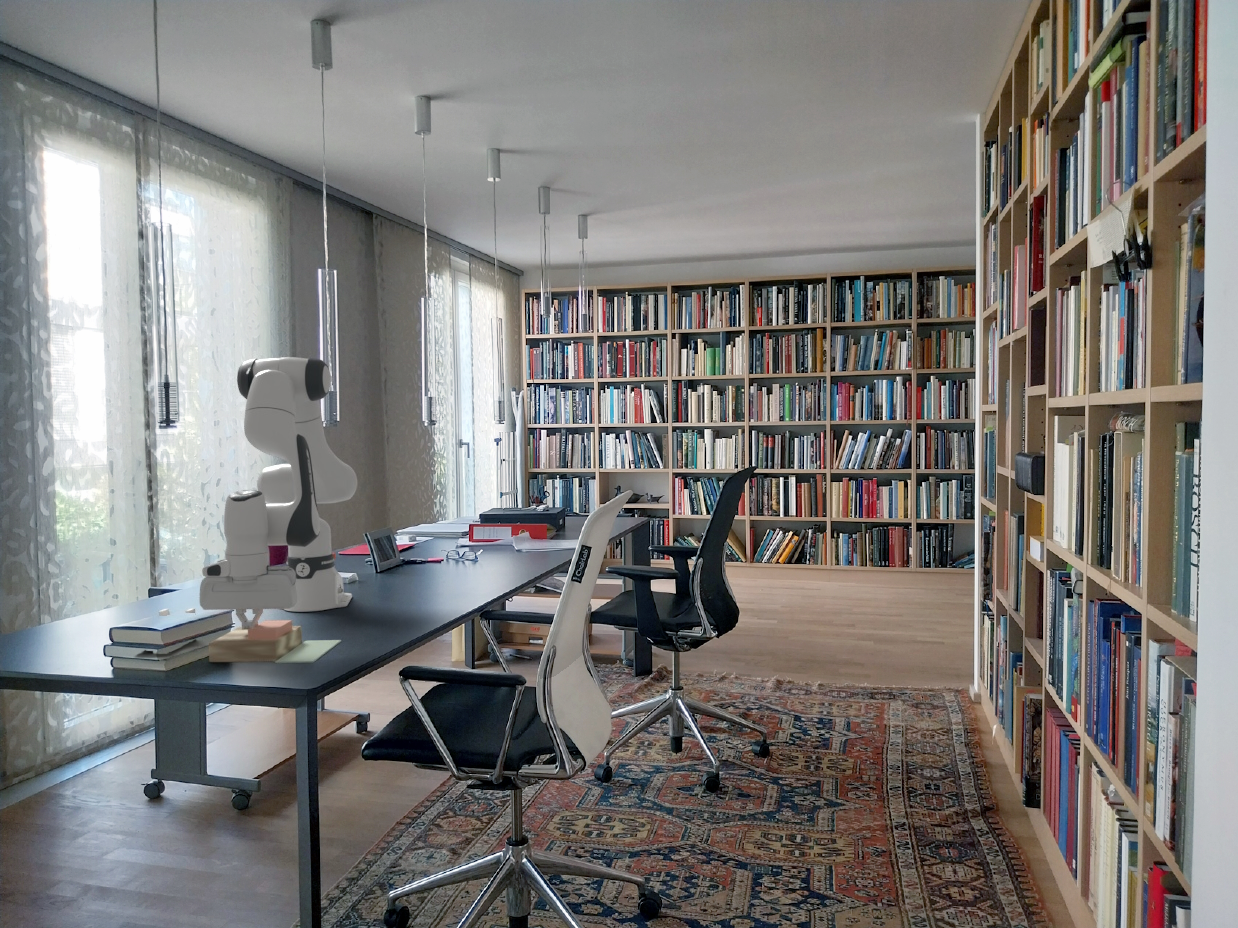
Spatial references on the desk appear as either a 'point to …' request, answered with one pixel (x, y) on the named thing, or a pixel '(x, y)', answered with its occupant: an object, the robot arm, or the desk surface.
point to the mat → (308, 651)
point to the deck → (252, 646)
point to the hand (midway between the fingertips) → (250, 629)
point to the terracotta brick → (270, 629)
